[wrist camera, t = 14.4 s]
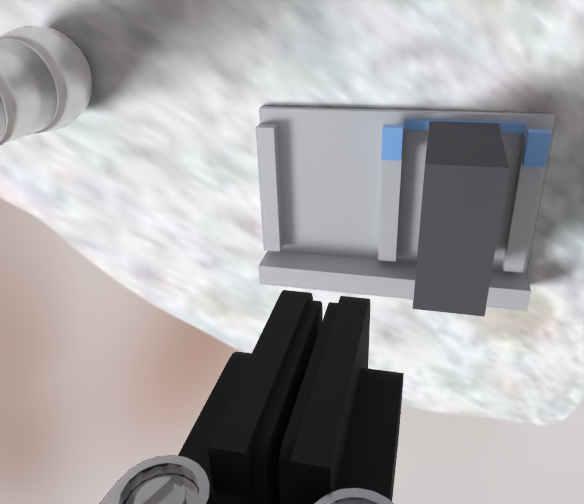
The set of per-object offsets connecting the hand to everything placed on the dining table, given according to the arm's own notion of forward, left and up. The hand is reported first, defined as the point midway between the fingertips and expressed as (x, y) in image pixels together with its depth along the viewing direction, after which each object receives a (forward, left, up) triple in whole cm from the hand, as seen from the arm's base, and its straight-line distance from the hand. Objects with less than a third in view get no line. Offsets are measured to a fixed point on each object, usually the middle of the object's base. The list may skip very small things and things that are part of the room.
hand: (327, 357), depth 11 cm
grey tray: (+8, 0, -27) cm, 28 cm away
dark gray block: (+7, +3, -26) cm, 27 cm away
